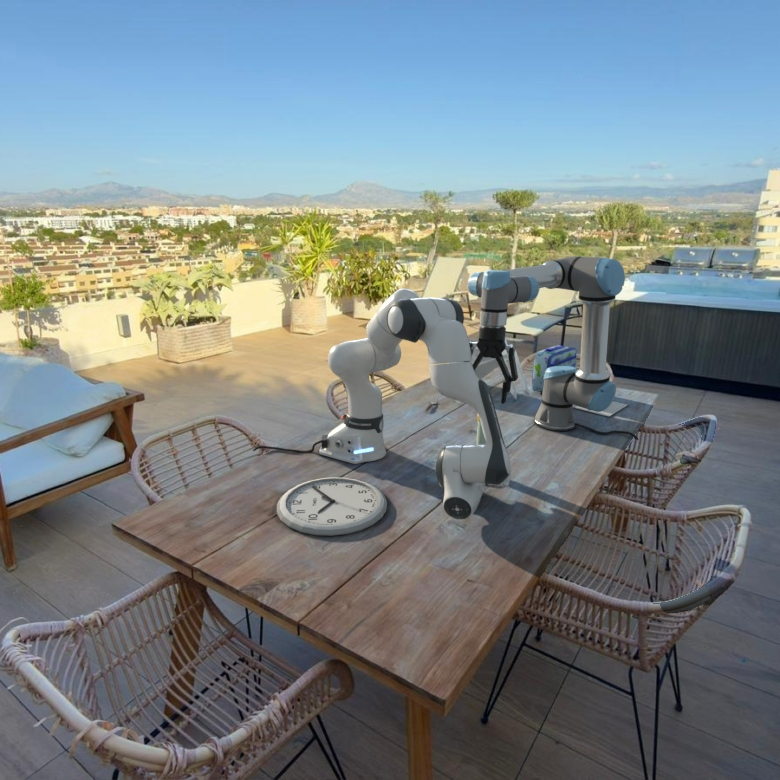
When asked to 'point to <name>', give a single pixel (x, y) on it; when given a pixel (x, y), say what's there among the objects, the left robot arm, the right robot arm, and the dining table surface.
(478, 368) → the white plastic object
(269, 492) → the dining table surface
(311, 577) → the dining table surface
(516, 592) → the dining table surface
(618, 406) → the invitation card
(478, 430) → the green cylinder
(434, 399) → the fork
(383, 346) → the left robot arm
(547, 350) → the lunch box
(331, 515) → the wall clock
